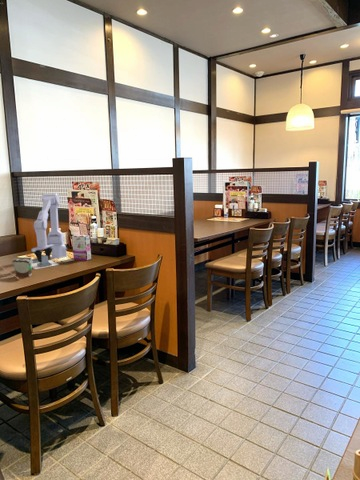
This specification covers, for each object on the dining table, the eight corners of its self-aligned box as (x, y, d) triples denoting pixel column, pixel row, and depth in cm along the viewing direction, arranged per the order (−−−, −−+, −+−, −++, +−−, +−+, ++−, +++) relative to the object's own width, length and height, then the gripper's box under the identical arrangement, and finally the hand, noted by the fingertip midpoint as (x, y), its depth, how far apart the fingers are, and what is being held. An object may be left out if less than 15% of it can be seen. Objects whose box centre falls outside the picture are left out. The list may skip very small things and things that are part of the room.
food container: (39, 274, 201) (37, 257, 199) (31, 277, 196) (29, 260, 194) (21, 273, 205) (20, 256, 203) (13, 276, 200) (11, 259, 198)
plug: (46, 264, 222) (45, 254, 221) (48, 265, 219) (47, 255, 218) (40, 265, 220) (39, 255, 219) (42, 266, 217) (41, 256, 216)
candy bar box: (91, 259, 235) (90, 235, 232) (87, 260, 231) (85, 236, 227) (78, 258, 239) (76, 234, 236) (73, 259, 235) (71, 235, 232)
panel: (45, 259, 239) (45, 256, 238) (59, 265, 221) (59, 262, 220) (22, 263, 229) (22, 260, 229) (35, 270, 211) (34, 267, 211)
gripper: (47, 237, 225) (49, 257, 227) (27, 241, 212) (29, 262, 215) (54, 237, 221) (56, 258, 224) (35, 242, 209) (37, 264, 211)
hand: (44, 260), depth 219 cm, fingers open, 5 cm apart
